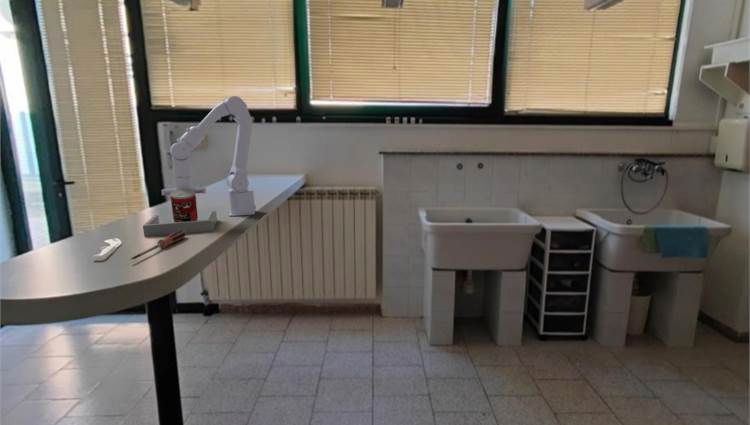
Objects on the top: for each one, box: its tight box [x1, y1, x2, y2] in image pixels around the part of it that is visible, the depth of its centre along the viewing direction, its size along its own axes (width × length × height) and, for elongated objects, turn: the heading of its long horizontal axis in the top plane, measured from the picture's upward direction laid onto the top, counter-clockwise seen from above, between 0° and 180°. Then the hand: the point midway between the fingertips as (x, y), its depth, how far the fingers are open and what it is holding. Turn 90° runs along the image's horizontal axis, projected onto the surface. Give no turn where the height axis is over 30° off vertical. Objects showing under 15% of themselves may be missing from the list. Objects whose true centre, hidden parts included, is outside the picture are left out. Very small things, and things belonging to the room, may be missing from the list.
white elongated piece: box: [91, 238, 122, 262], centre depth 120 cm, size 30×2×8 cm
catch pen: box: [142, 210, 218, 237], centre depth 139 cm, size 20×15×4 cm
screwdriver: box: [129, 231, 187, 260], centre depth 116 cm, size 25×3×3 cm, turn 175°
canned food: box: [169, 188, 199, 223], centre depth 143 cm, size 8×8×11 cm
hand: (186, 213), depth 149 cm, fingers closed, pressing on canned food
